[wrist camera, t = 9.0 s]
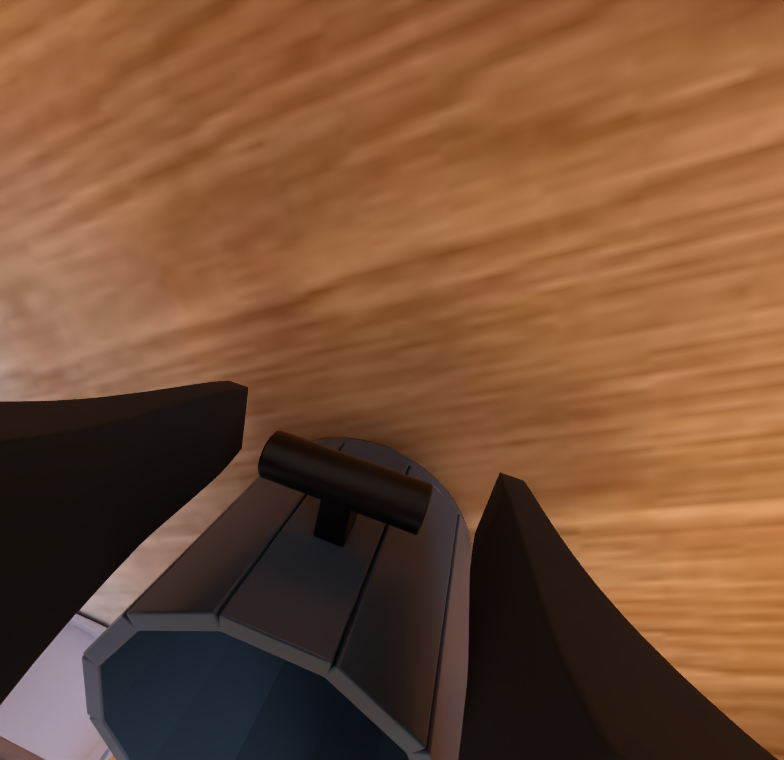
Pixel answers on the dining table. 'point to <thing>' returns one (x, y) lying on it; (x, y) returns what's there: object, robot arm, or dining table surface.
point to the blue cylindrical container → (299, 621)
